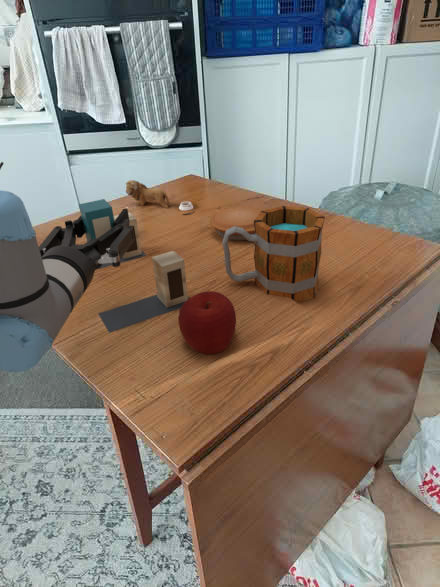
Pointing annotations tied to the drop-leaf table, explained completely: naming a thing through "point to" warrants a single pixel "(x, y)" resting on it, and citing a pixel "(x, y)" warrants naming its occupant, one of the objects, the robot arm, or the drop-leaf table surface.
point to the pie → (235, 221)
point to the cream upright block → (170, 278)
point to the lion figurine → (146, 193)
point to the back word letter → (135, 246)
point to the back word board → (124, 260)
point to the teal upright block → (96, 218)
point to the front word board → (135, 313)
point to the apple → (207, 322)
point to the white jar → (186, 207)
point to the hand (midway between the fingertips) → (108, 215)
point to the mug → (283, 252)
